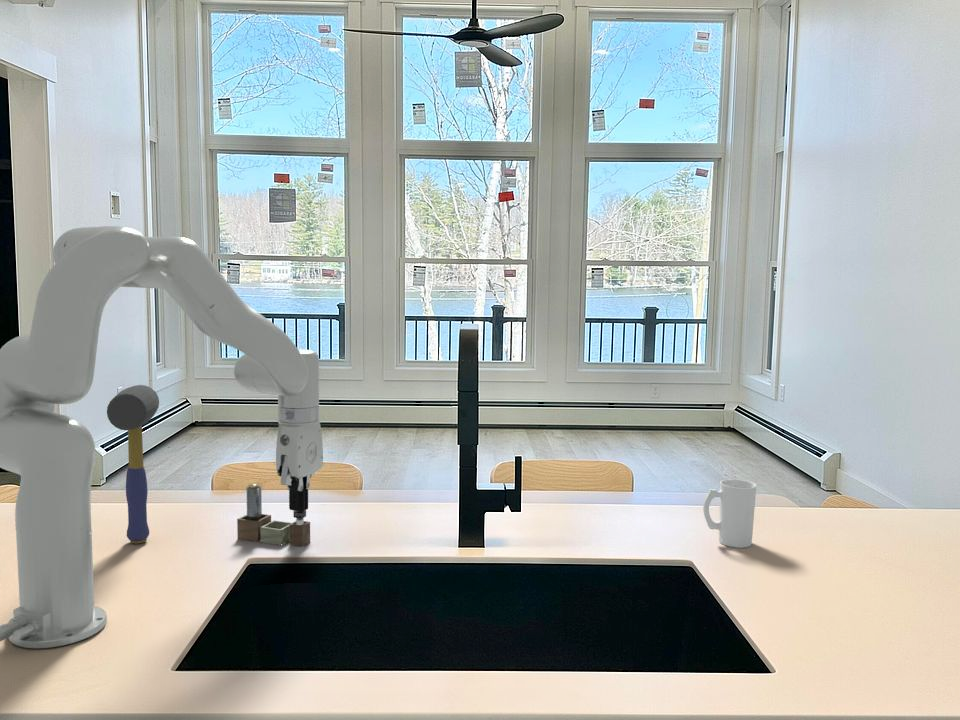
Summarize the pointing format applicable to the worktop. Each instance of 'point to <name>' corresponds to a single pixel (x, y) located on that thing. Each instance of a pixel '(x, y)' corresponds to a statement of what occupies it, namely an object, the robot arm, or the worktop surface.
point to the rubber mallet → (135, 451)
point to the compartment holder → (273, 531)
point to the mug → (733, 512)
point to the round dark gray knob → (299, 517)
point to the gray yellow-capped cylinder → (254, 502)
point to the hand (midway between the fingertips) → (298, 509)
